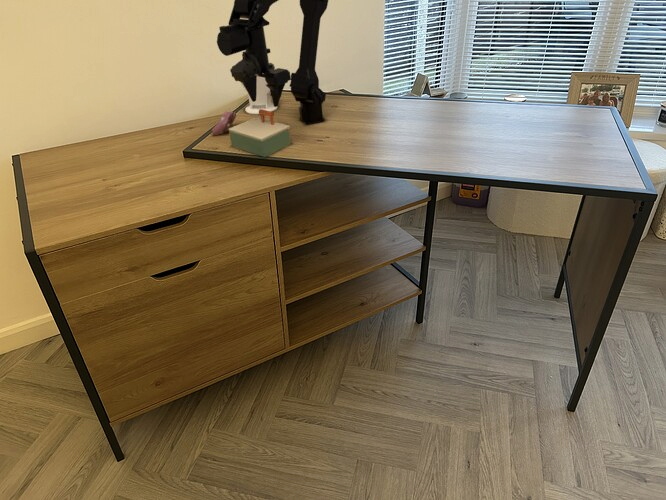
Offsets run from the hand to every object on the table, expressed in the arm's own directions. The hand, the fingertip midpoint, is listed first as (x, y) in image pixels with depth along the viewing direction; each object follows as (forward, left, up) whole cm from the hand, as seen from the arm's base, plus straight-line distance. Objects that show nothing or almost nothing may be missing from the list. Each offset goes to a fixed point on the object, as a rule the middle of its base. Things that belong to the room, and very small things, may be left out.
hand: (264, 103), depth 138 cm
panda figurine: (-5, -29, -11) cm, 32 cm away
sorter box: (+4, +2, -11) cm, 12 cm away
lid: (+3, +2, -6) cm, 7 cm away
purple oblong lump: (+11, -16, -11) cm, 22 cm away
